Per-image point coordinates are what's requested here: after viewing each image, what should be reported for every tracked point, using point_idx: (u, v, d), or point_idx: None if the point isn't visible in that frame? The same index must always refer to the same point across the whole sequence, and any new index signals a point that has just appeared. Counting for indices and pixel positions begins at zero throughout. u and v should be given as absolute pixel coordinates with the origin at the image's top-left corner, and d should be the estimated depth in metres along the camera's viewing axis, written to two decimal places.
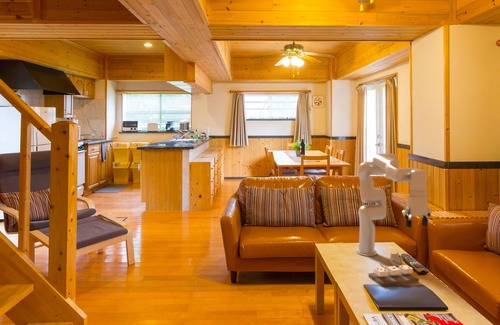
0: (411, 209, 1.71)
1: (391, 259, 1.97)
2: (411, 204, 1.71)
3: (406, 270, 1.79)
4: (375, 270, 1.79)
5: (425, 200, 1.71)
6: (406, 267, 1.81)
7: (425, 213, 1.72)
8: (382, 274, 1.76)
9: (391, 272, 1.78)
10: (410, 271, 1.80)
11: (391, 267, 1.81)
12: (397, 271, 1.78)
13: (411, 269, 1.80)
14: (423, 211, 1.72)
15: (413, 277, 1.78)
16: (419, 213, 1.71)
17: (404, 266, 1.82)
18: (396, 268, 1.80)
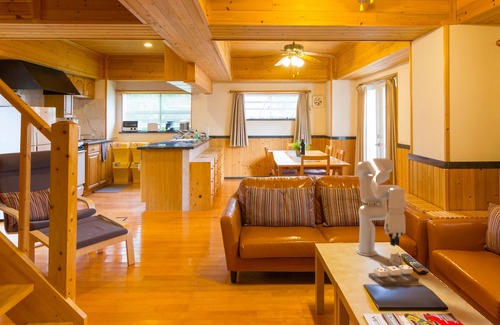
0: (389, 226, 1.75)
1: (391, 259, 1.97)
2: (389, 221, 1.75)
3: (406, 270, 1.79)
4: (375, 270, 1.79)
5: (403, 217, 1.76)
6: (406, 267, 1.81)
7: (403, 230, 1.77)
8: (382, 274, 1.76)
9: (391, 272, 1.78)
10: (410, 271, 1.80)
11: (391, 267, 1.81)
12: (397, 271, 1.78)
13: (411, 269, 1.80)
14: (401, 228, 1.76)
15: (413, 277, 1.78)
16: (397, 230, 1.76)
17: (404, 266, 1.82)
18: (396, 268, 1.80)
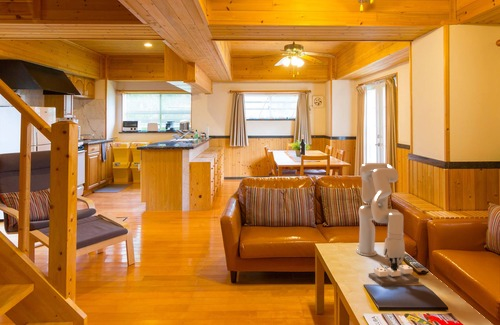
0: (388, 251, 1.76)
1: None
2: (388, 246, 1.76)
3: (406, 270, 1.79)
4: (375, 270, 1.79)
5: (402, 242, 1.77)
6: (406, 267, 1.81)
7: (402, 255, 1.78)
8: (382, 274, 1.76)
9: (391, 274, 1.78)
10: (410, 271, 1.80)
11: None
12: (397, 272, 1.78)
13: (411, 269, 1.80)
14: (400, 253, 1.77)
15: (413, 277, 1.78)
16: (396, 255, 1.77)
17: (404, 266, 1.82)
18: None
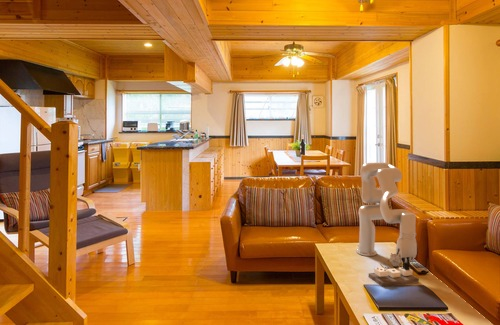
0: (400, 251, 1.78)
1: (391, 259, 1.97)
2: (400, 246, 1.78)
3: (406, 272, 1.79)
4: (375, 270, 1.79)
5: (414, 242, 1.79)
6: None
7: (414, 254, 1.80)
8: (382, 274, 1.76)
9: (391, 275, 1.78)
10: (410, 273, 1.80)
11: (391, 269, 1.81)
12: (397, 273, 1.78)
13: (411, 271, 1.80)
14: (412, 253, 1.79)
15: (413, 277, 1.78)
16: (408, 255, 1.79)
17: None
18: (396, 270, 1.80)
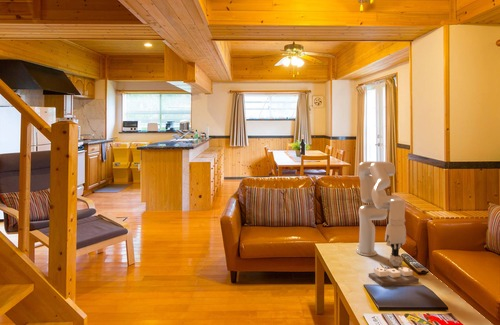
0: (390, 237, 1.76)
1: (391, 259, 1.97)
2: (390, 232, 1.76)
3: (406, 272, 1.79)
4: (375, 270, 1.79)
5: (403, 228, 1.76)
6: (406, 269, 1.81)
7: (403, 241, 1.77)
8: (382, 274, 1.76)
9: (391, 275, 1.78)
10: (410, 273, 1.80)
11: (391, 269, 1.81)
12: (397, 273, 1.78)
13: (411, 271, 1.80)
14: (401, 239, 1.77)
15: (413, 277, 1.78)
16: (397, 241, 1.76)
17: (404, 268, 1.82)
18: (396, 270, 1.80)
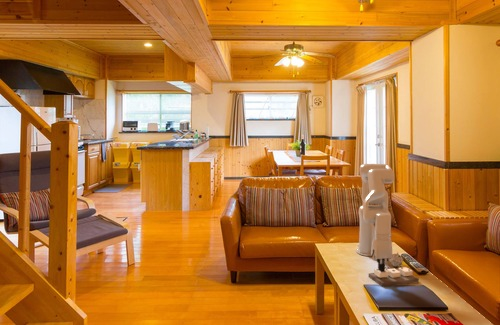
0: (375, 252, 1.74)
1: (391, 259, 1.97)
2: (375, 247, 1.74)
3: (406, 272, 1.79)
4: (375, 271, 1.79)
5: (389, 243, 1.75)
6: (406, 269, 1.81)
7: (389, 256, 1.76)
8: (382, 275, 1.76)
9: (391, 275, 1.78)
10: (410, 273, 1.80)
11: (391, 269, 1.81)
12: (397, 273, 1.78)
13: (411, 271, 1.80)
14: (387, 254, 1.75)
15: (413, 277, 1.78)
16: (383, 256, 1.75)
17: (404, 268, 1.82)
18: (396, 270, 1.80)
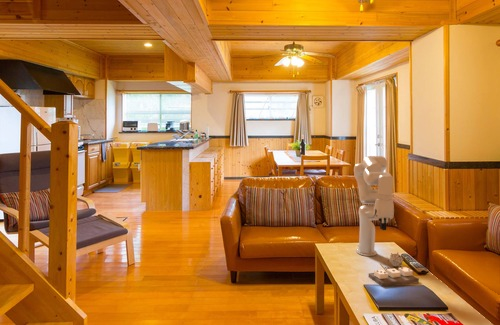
0: (377, 212, 1.83)
1: (391, 259, 1.97)
2: (378, 207, 1.83)
3: (406, 272, 1.79)
4: (375, 272, 1.79)
5: (391, 203, 1.83)
6: (406, 269, 1.81)
7: (391, 215, 1.85)
8: (382, 277, 1.76)
9: (391, 275, 1.78)
10: (410, 273, 1.80)
11: (391, 269, 1.81)
12: (397, 273, 1.78)
13: (411, 271, 1.80)
14: (389, 213, 1.84)
15: (413, 277, 1.78)
16: (385, 215, 1.84)
17: (404, 268, 1.82)
18: (396, 270, 1.80)
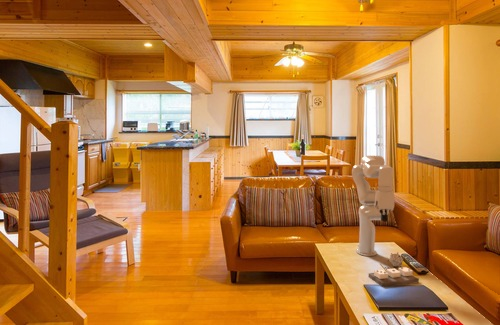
0: (378, 203, 1.85)
1: (391, 259, 1.97)
2: (378, 198, 1.85)
3: (406, 272, 1.79)
4: (375, 272, 1.79)
5: (392, 195, 1.86)
6: (406, 269, 1.81)
7: (392, 207, 1.87)
8: (382, 277, 1.76)
9: (391, 275, 1.78)
10: (410, 273, 1.80)
11: (391, 269, 1.81)
12: (397, 273, 1.78)
13: (411, 271, 1.80)
14: (390, 205, 1.86)
15: (413, 277, 1.78)
16: (386, 207, 1.86)
17: (404, 268, 1.82)
18: (396, 270, 1.80)
